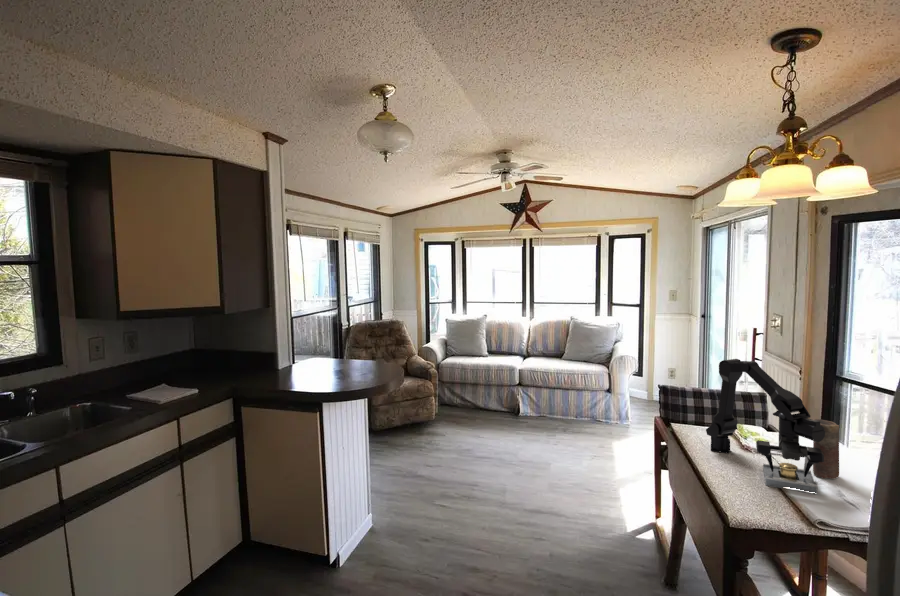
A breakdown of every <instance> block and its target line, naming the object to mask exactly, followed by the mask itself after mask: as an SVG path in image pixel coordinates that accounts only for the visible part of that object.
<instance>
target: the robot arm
mask: <svg viewBox="0 0 900 596" xmlns="http://www.w3.org/2000/svg"><path fill="white" fill-rule="evenodd" d="M744 373H746V374H747V375H748V376H749V377H750V378H751V379H752V380H753V381H754V382H755V383H756V384H757V385H758V386H759V387H760V388H761V389H762V390H763V391H764V392H766V394H767V395H768V397H769V398H770V401H771V404H772V405H773V407H774V408H775V409H776V411H775V412H772V415H773V416H775V417H777V418H778V445H771V444H770V441H769V440H768V441H766V440H757V441H756V443H755V447H756V448H755V449H756V453H758V454H760V455H762V456H763V457H765V458H766V460H767V463H768V464H769V465H770V468H771V470H772V472H773V465H774V464H773V457H772V452H779V453H781V457H782V458H783V459H785V460H792V461H801V458H805V459H804V465H803V469H804V477H806V476H807V474H808V472H809V470H810V469H811V468H812V467H813V464H815V463H819V462H824V455H823V453H822V451H821V450H820V449H819V448H813V446H812V447H810V446H806V445H800V437H802V438H804V439H807V440H810V441H815V442H820V441H822V440H823V438H824V437H825V430H824V427H823V426H821V425H820V421H817V420H815V419H811V415H810V412H809V411H808V409H807V408H806V407H805V405H804V403H803V400H802V399H801V398H800V396H798V395H797V394H795V393H794V392H792V391H791V390H790V391H789V390H788V389H785V388H783V387H782V386H781V385H779V383H777V382H776V381H775V380H774V379H773V378H772V377H771V376H770V375H769V374H768V373H767V372H766V371H765V370H764V369H763V368H762V367H760V365H759V363H758V362H757V361H755V360H751V361H748V360H740V359H738V358H733V359H724V360H721V361H719V363H718V374H719V376H720V378H721V379H722V380H721V389H720V395H719V396H720V397H719V404H718V412H716V414H715V415H714V416H713V418H712V422H711V425H710V426H708V427H707V428H706V429H705V432H706V435H707V436H709V437H710V451H711V452H717V453H724V454H730V451H731V439H730V438H729V437H732V436H733V435H734V432H735V431H736V430H738V422H739V421H738V419H736V418H735V417H734V415H733V413H734V405H735V398H736V389H737V382H738V381H739V380H740V379H741V377H742V376H743V374H744Z"/></svg>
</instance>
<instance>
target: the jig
mask: <svg viewBox="0 0 900 596" xmlns="http://www.w3.org/2000/svg"><path fill="white" fill-rule="evenodd" d="M762 472H763V478H764V483H765V486H766V487H771V488H777V489H783V487H790V488H796V489H800V490H804V491H809V492H815V493H817V492H818V491H817V489H818V488H817V487H818V485H817V484H816V482H815V479H814V477H813V474H812V471H811V470H809V472H808V474H807V476H806V477H804V468H798V470H797V471H796V480H794V479H788V478H781V468H780V467H779V465H776V464H773V472H772V470H771V468H770V465H769V463H765V462H763V463H762Z"/></svg>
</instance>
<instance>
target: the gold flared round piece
mask: <svg viewBox="0 0 900 596" xmlns="http://www.w3.org/2000/svg"><path fill="white" fill-rule="evenodd" d="M778 466H779V467H780V468H781V478H788V479H794V480H796V471H797V470H798V469H799V467H798V466H797V465H796V464H793V463H789V462H780V463H779V465H778Z"/></svg>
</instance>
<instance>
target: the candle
mask: <svg viewBox="0 0 900 596" xmlns="http://www.w3.org/2000/svg"><path fill="white" fill-rule="evenodd" d="M814 420H817V421H820V425H821V426H823V427H824V430H825V437H824V438H823V440H822V441H820V442H815V441H813V445H812V447H813V448H819V449H820V450H821V451H822V453H823V455H824V462H819V463H815V464H813V465H812V473H813V475H814V476H816V477H818V478H821V479H831V480H834V479H837V478H839V477H840V425H839V424H837V423H836V422H834V421H830V420H826V419H820V418H815V419H814Z"/></svg>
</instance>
